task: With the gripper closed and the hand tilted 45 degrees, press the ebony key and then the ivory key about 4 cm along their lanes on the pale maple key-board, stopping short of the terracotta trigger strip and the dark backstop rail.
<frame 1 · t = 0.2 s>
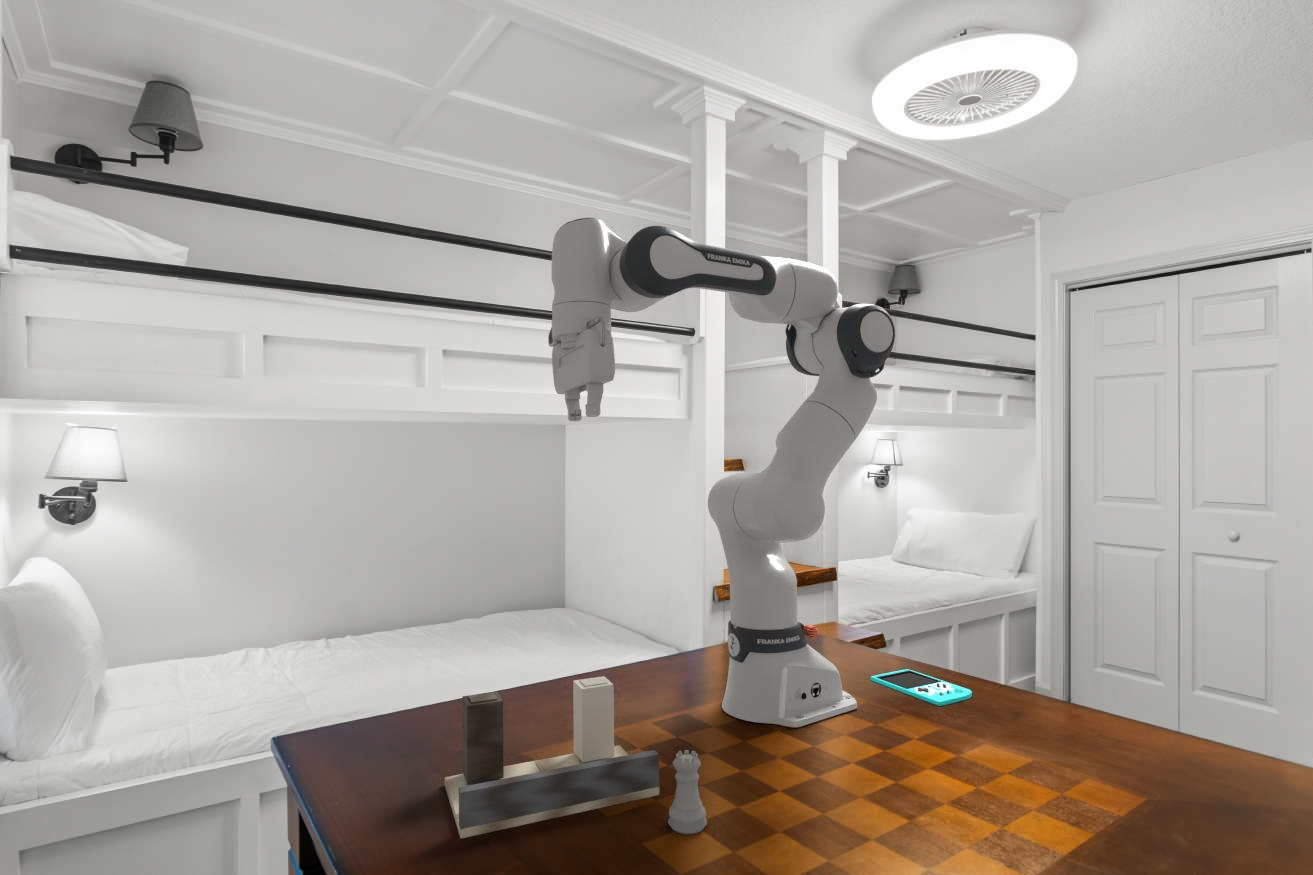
hand: (583, 418, 106), 48 cm above the table, tool pointing down, fingers open, 8 cm apart
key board: (550, 789, 89), on the table
handheld game console: (921, 691, 127), on the table
rook chess piece: (687, 827, 80), on the table
ivory key: (593, 717, 97), point 6 cm above the table, slide at 0.0 cm
ebony key: (482, 735, 91), point 6 cm above the table, slide at 0.0 cm
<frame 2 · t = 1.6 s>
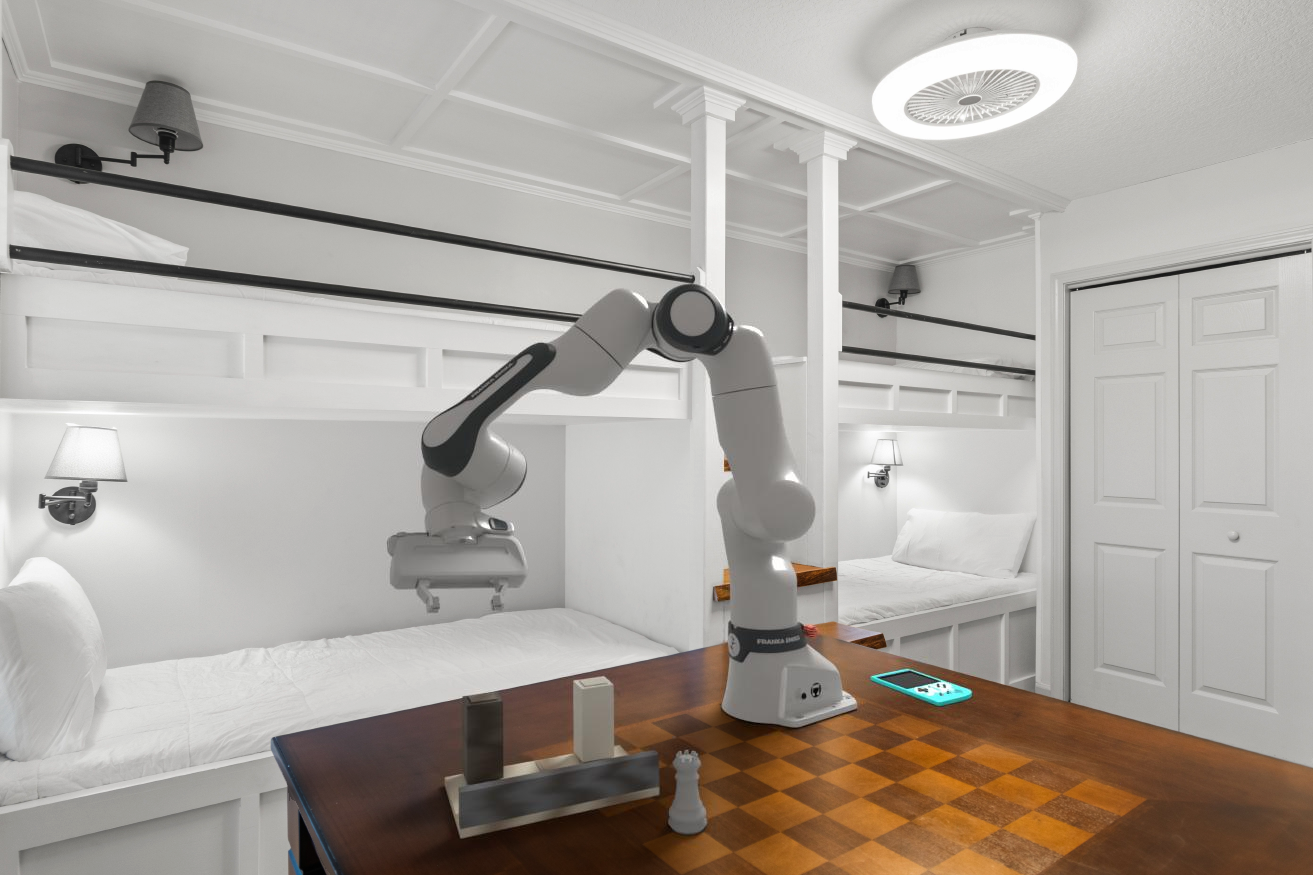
hand: (466, 609, 102), 20 cm above the table, tool tilted 45°, fingers open, 8 cm apart
nothing on the table moved.
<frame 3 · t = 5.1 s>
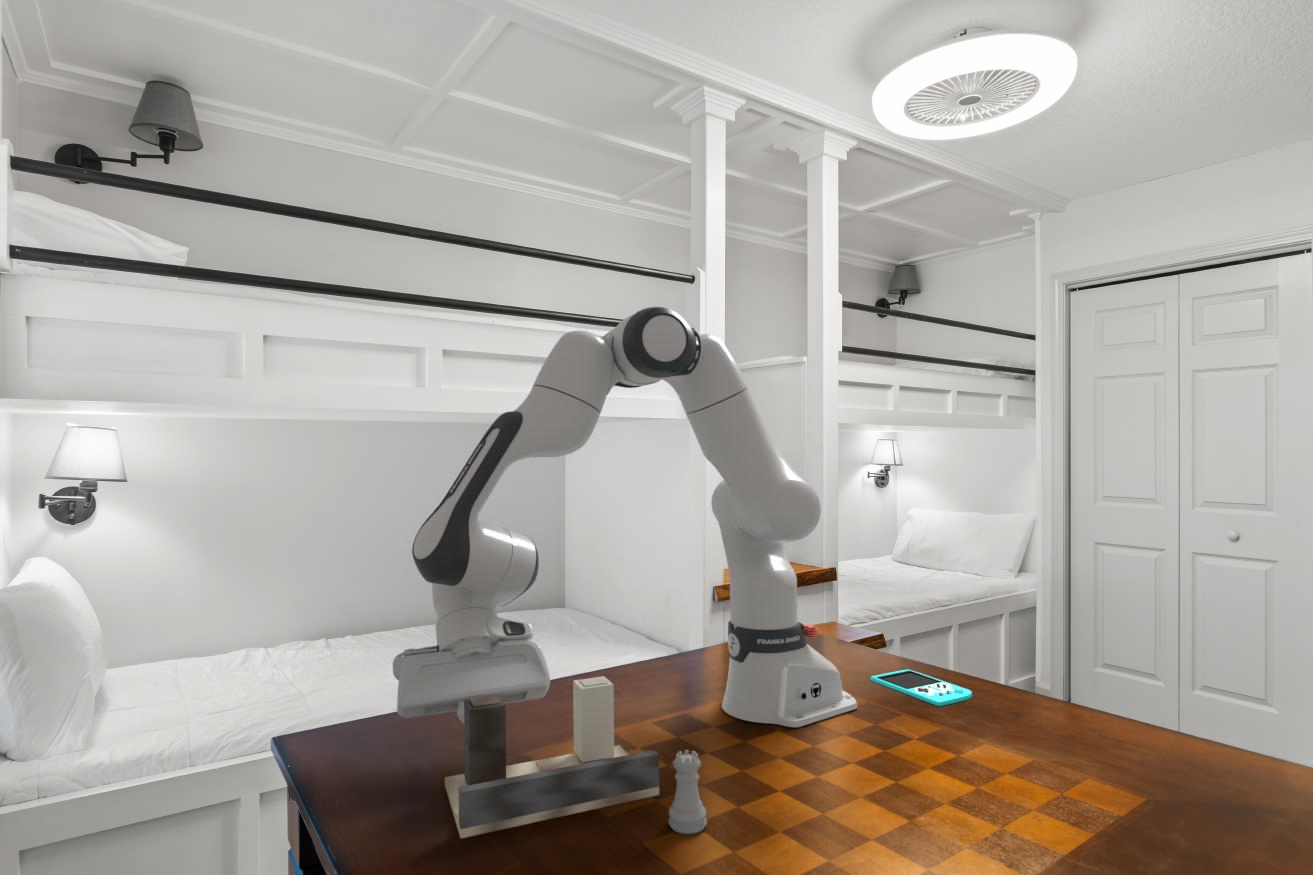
hand: (481, 736, 92), 6 cm above the table, tool tilted 45°, fingers closed, pressing on ebony key
ebony key: (484, 740, 90), point 6 cm above the table, slide at 1.6 cm, touching gripper
everything else where it was.
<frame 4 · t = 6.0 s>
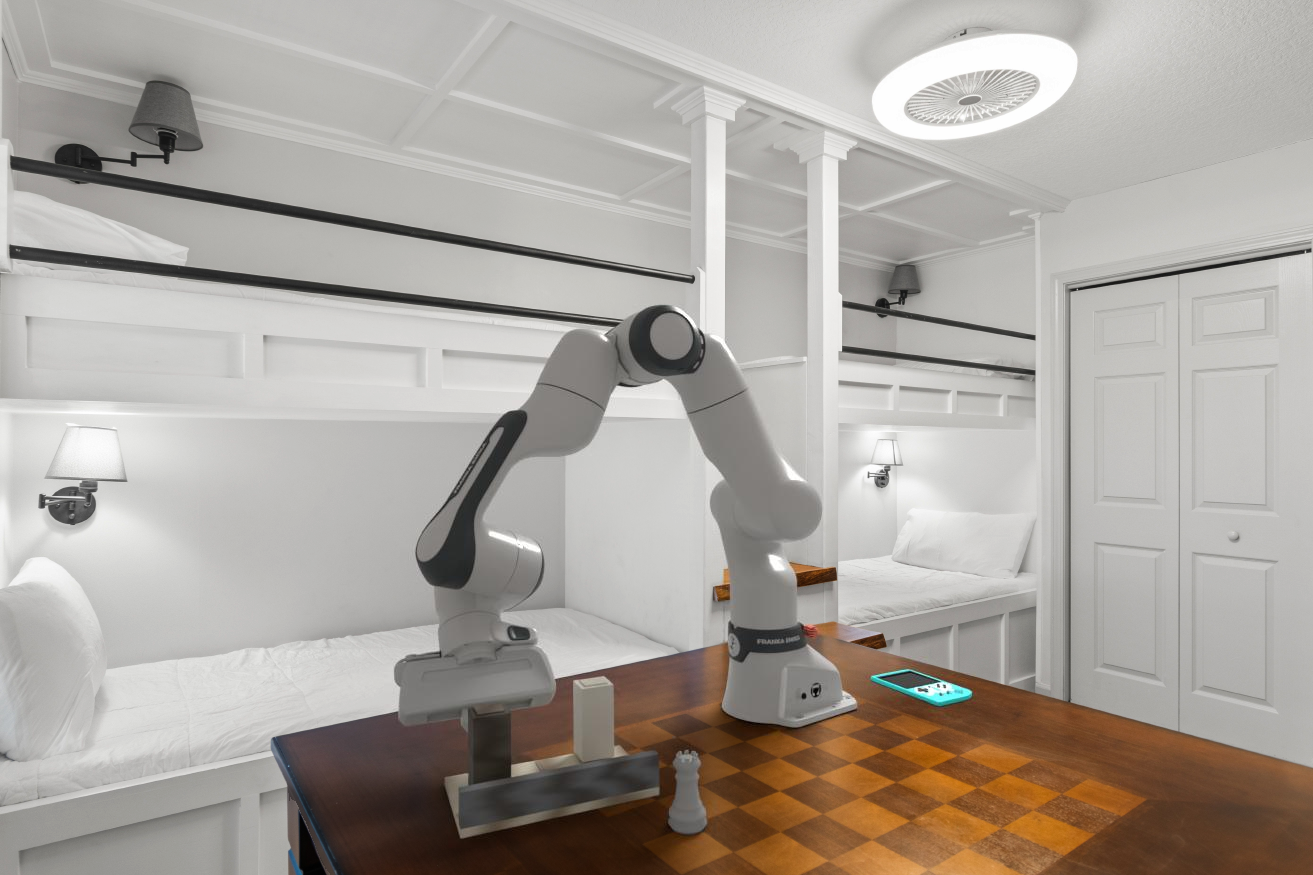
hand: (485, 744, 89), 6 cm above the table, tool tilted 45°, fingers closed, pressing on ebony key
ebony key: (489, 749, 87), point 6 cm above the table, slide at 4.7 cm, touching gripper
everything else where it was.
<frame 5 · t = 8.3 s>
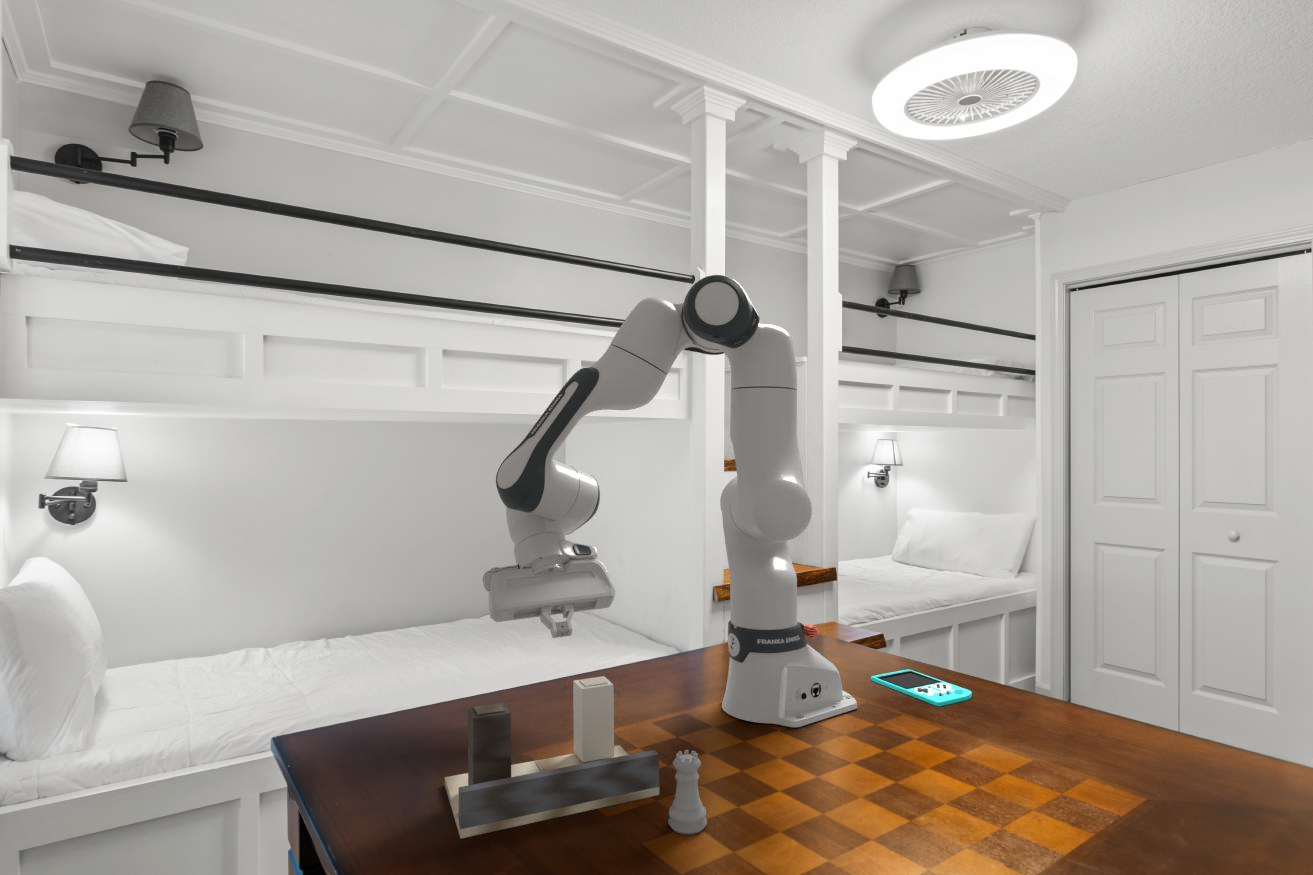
hand: (562, 634, 109), 15 cm above the table, tool tilted 45°, fingers closed
ebony key: (489, 749, 87), point 6 cm above the table, slide at 4.7 cm
everything else where it was.
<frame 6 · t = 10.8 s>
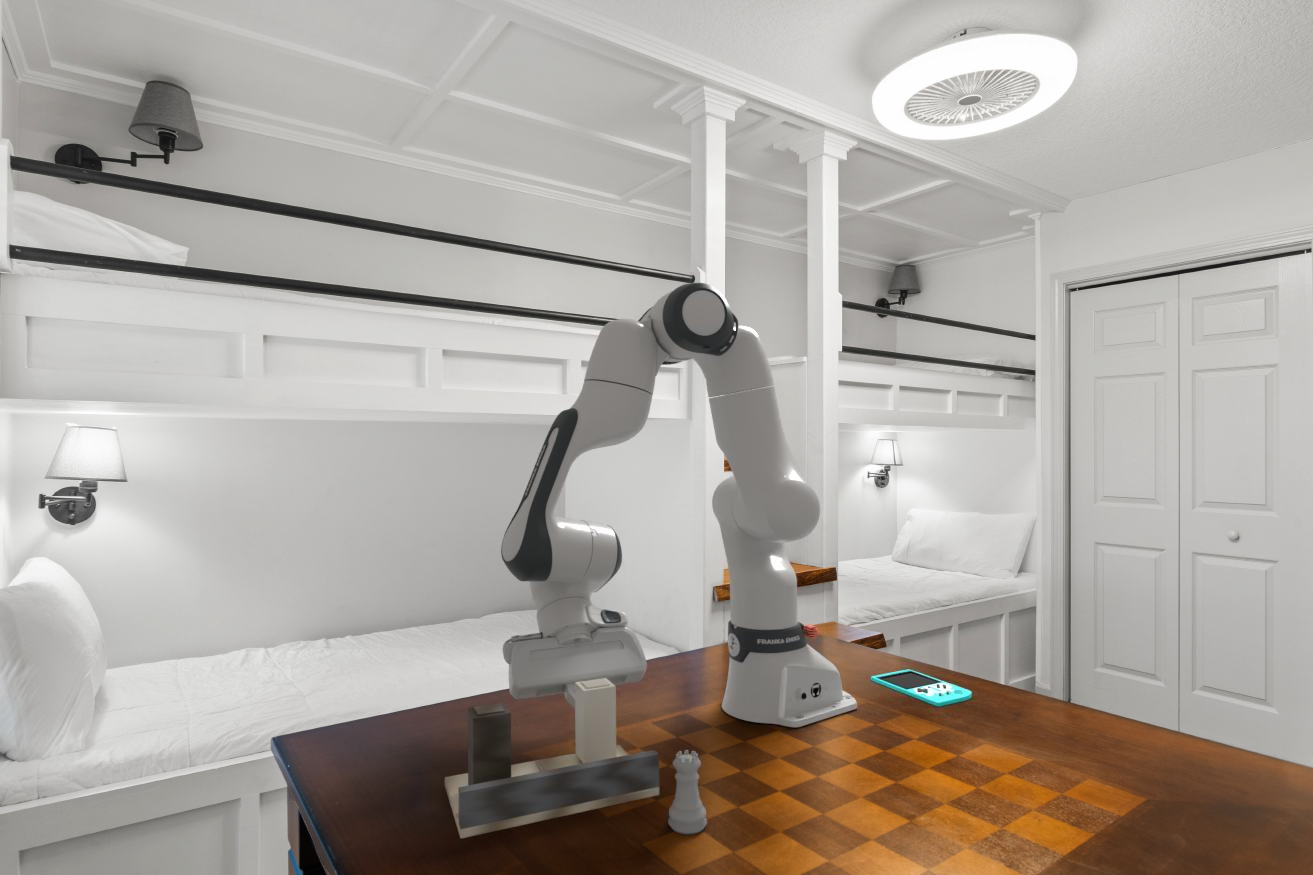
hand: (589, 715, 99), 6 cm above the table, tool tilted 45°, fingers closed, pressing on ivory key
ivory key: (595, 719, 96), point 6 cm above the table, slide at 0.8 cm, touching gripper
everything else where it was.
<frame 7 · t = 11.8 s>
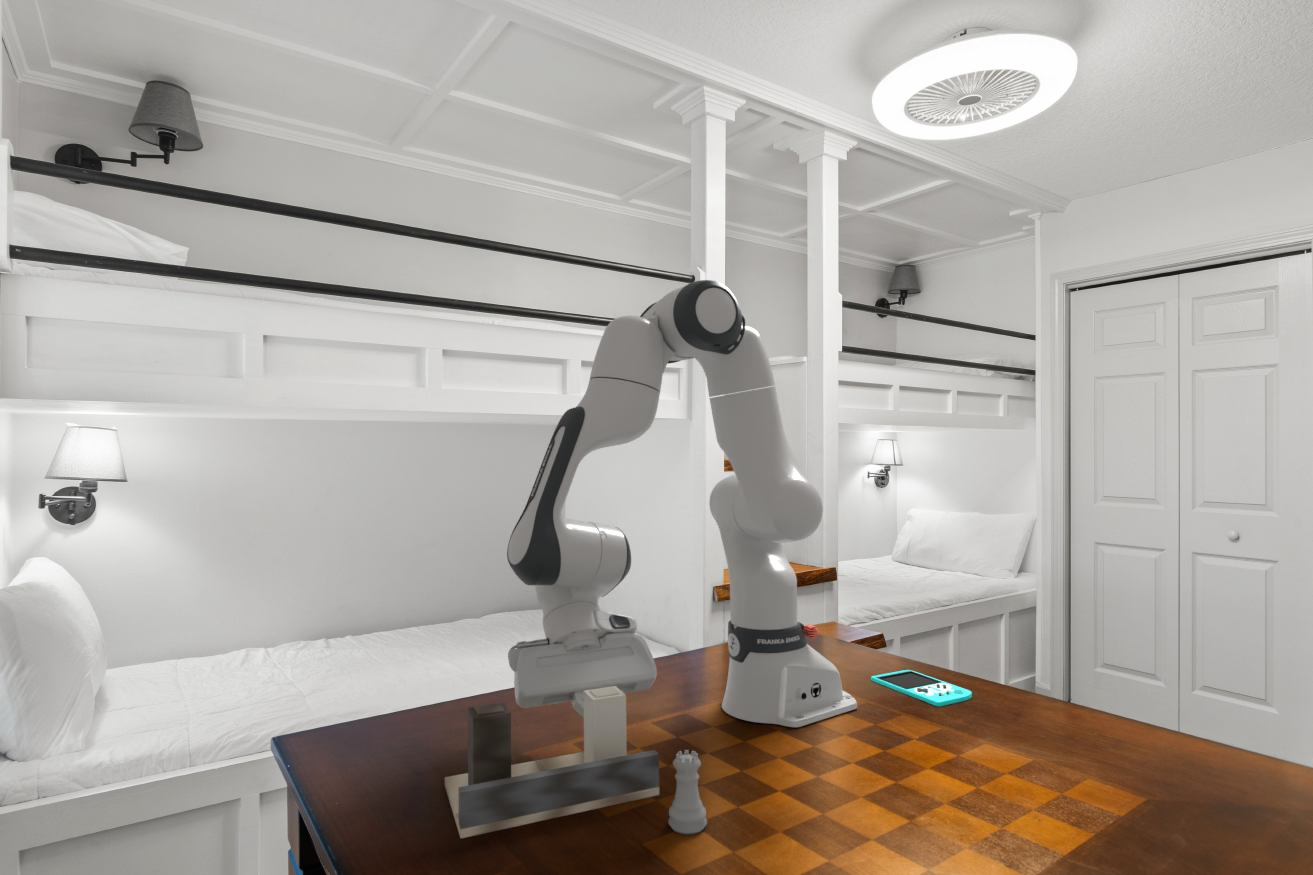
hand: (598, 725, 95), 6 cm above the table, tool tilted 45°, fingers closed, pressing on ivory key
ivory key: (604, 729, 93), point 6 cm above the table, slide at 4.7 cm, touching gripper
everything else where it was.
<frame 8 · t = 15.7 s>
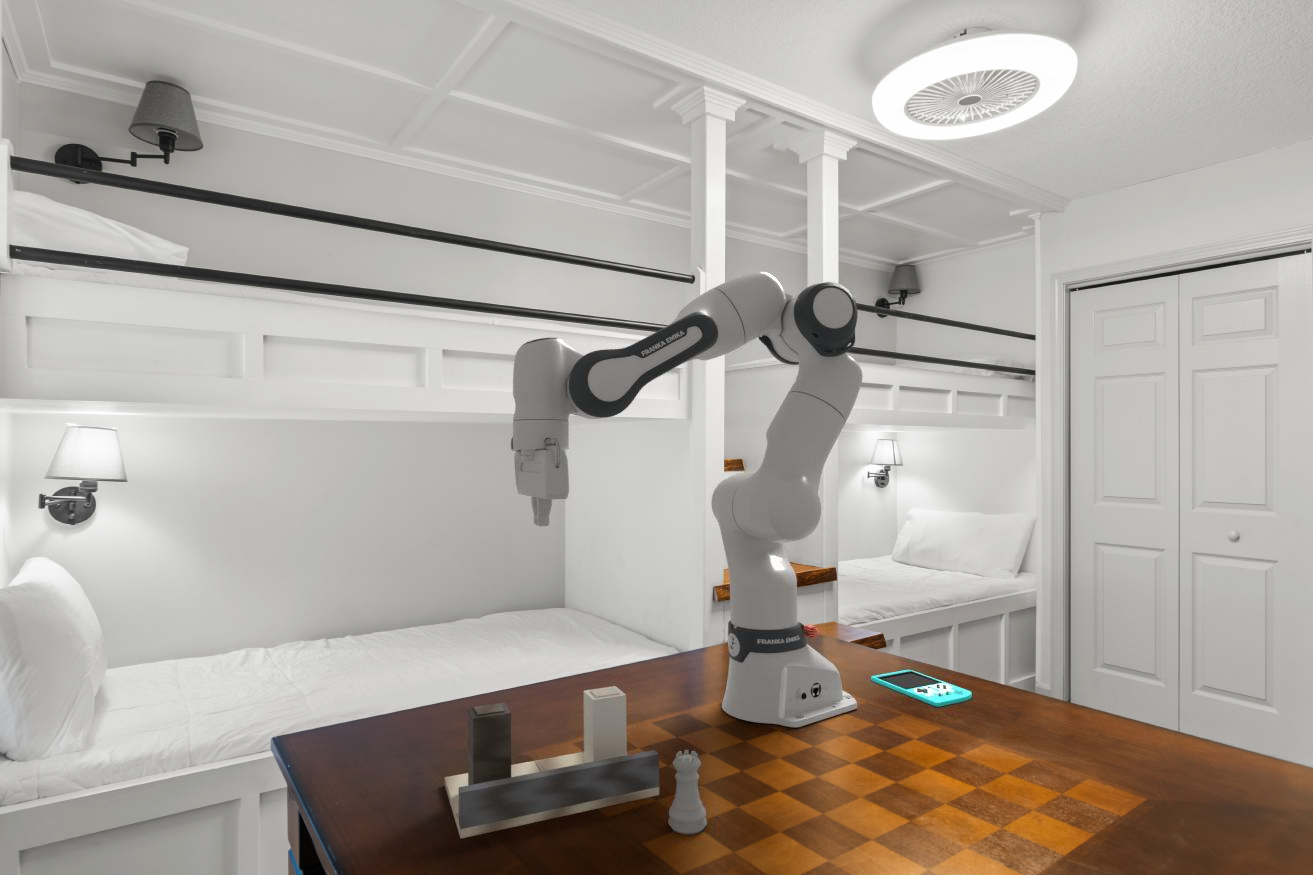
hand: (541, 525, 113), 31 cm above the table, tool pointing down, fingers closed
ivory key: (604, 729, 93), point 6 cm above the table, slide at 4.7 cm
everything else where it was.
at the end: ebony key slide at 4.7 cm; ivory key slide at 4.7 cm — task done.
